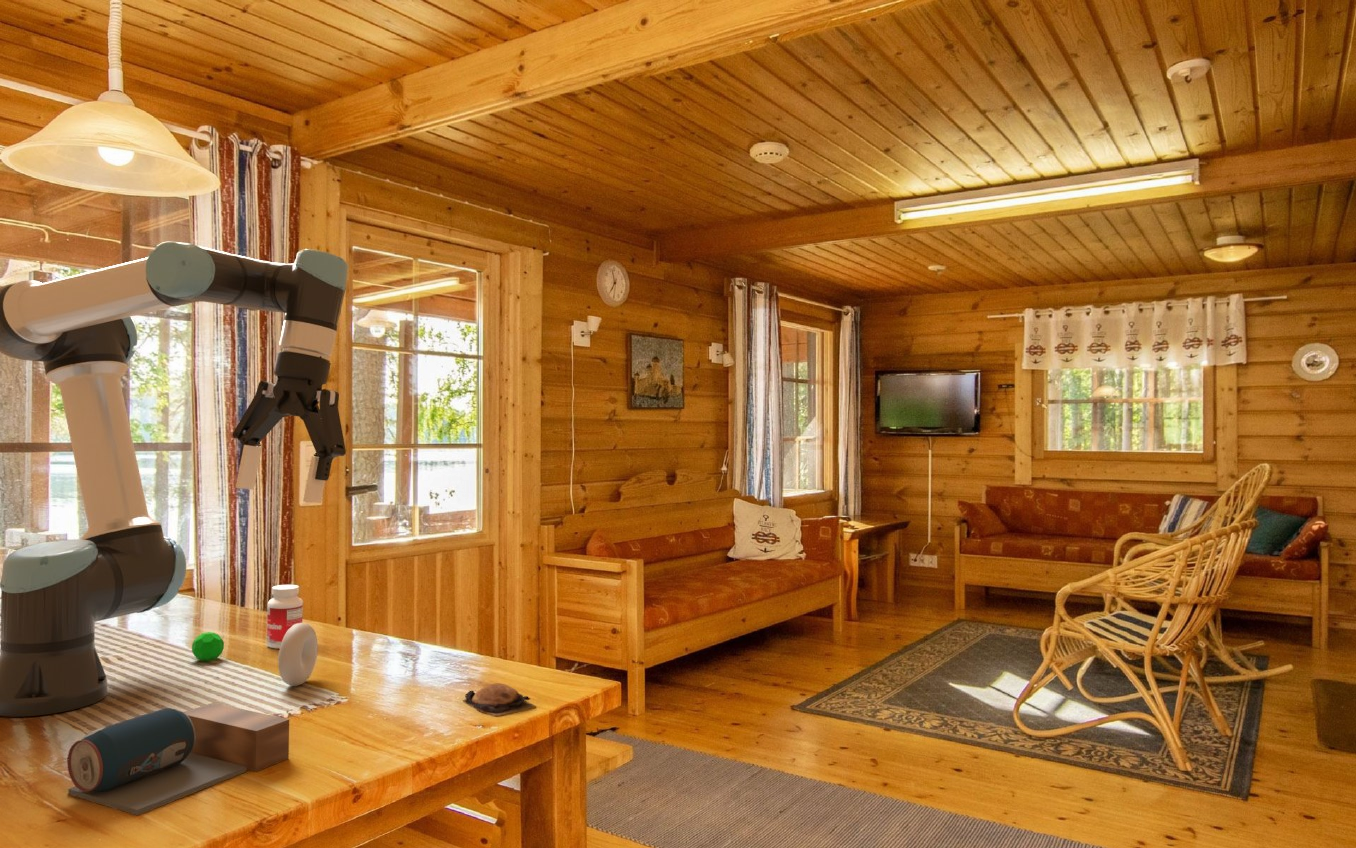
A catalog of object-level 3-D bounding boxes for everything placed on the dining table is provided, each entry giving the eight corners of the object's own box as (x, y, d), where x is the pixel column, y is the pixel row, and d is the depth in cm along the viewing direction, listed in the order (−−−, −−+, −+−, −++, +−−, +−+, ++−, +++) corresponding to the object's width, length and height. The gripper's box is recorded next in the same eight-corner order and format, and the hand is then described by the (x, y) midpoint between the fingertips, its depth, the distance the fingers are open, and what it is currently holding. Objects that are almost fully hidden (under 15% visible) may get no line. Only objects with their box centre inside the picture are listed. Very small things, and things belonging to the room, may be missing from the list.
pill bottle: (260, 645, 173) (261, 586, 173) (291, 639, 178) (292, 582, 178) (277, 651, 169) (278, 591, 169) (308, 645, 174) (309, 586, 174)
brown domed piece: (540, 711, 140) (541, 687, 140) (491, 722, 135) (492, 697, 135) (504, 694, 148) (504, 671, 148) (456, 703, 143) (457, 680, 143)
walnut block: (178, 752, 119) (179, 713, 119) (212, 740, 123) (213, 702, 123) (255, 771, 113) (256, 731, 113) (288, 758, 117) (289, 719, 117)
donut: (295, 694, 144) (296, 630, 144) (273, 694, 144) (274, 630, 144) (320, 676, 154) (321, 616, 154) (299, 676, 154) (301, 616, 154)
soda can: (157, 707, 116) (59, 737, 105) (194, 702, 113) (98, 732, 102) (165, 763, 115) (68, 799, 104) (203, 759, 112) (107, 796, 101)
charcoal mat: (68, 794, 105) (68, 788, 105) (180, 754, 118) (180, 750, 118) (137, 815, 100) (137, 810, 100) (246, 771, 113) (246, 767, 113)
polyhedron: (185, 662, 160) (185, 635, 160) (205, 655, 165) (206, 629, 165) (209, 665, 159) (210, 637, 159) (229, 658, 164) (230, 631, 164)
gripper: (387, 366, 136) (360, 509, 134) (264, 352, 146) (238, 485, 144) (351, 356, 129) (322, 506, 128) (225, 342, 139) (196, 481, 138)
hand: (277, 495), depth 136 cm, fingers open, 13 cm apart
